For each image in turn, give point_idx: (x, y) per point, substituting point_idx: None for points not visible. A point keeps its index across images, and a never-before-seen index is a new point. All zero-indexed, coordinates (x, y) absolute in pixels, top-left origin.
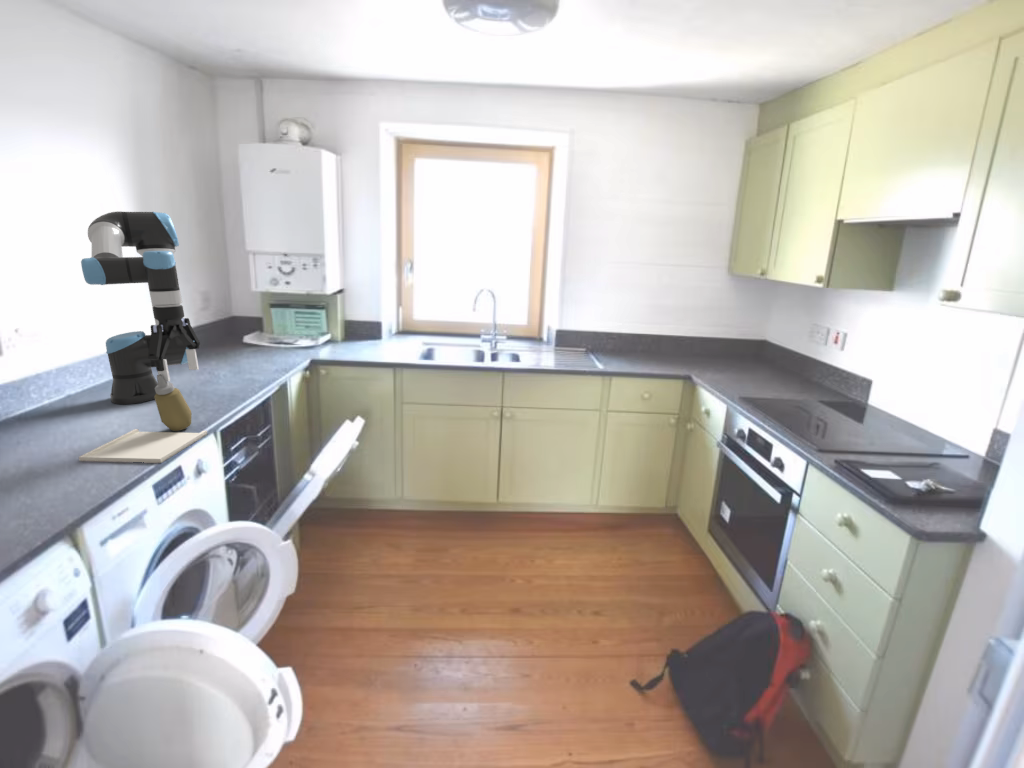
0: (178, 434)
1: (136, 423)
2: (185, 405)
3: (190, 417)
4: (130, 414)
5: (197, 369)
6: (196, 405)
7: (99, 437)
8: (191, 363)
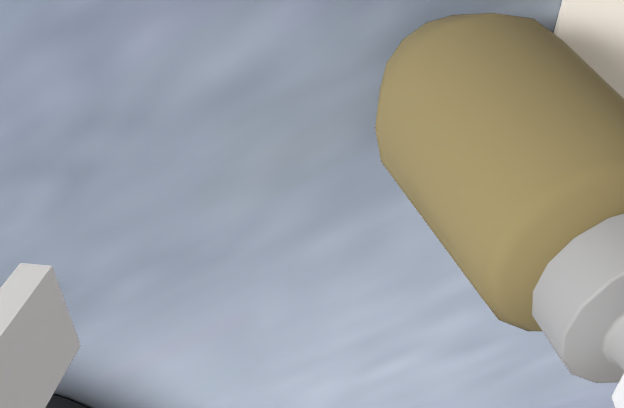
0: (601, 9)
1: (351, 319)
2: (519, 65)
3: (468, 17)
4: (237, 386)
5: (48, 269)
6: (47, 198)
7: (532, 361)
8: (24, 386)
